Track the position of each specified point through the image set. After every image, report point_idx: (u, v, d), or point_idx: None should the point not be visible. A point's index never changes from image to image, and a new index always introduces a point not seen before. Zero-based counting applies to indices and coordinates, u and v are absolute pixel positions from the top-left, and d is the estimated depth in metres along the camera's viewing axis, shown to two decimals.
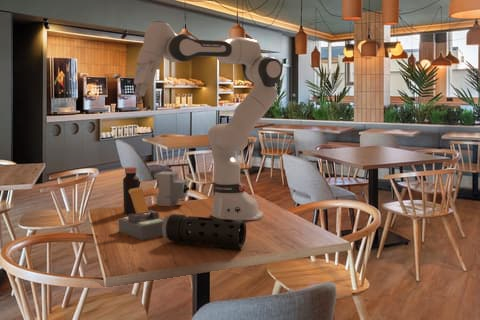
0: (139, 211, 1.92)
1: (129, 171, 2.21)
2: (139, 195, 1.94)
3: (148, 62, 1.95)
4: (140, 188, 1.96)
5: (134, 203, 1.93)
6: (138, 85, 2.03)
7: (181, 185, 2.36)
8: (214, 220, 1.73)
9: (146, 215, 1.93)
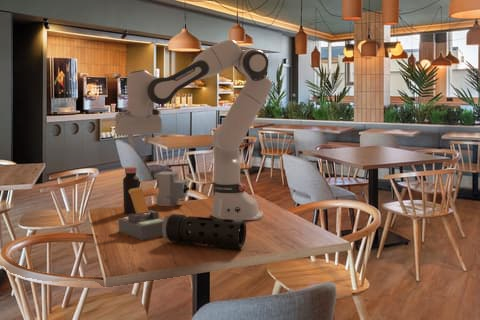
0: (139, 211, 1.92)
1: (129, 171, 2.21)
2: (139, 195, 1.94)
3: None
4: (140, 188, 1.96)
5: (134, 203, 1.93)
6: (145, 134, 2.10)
7: (181, 185, 2.36)
8: (214, 220, 1.73)
9: (146, 215, 1.93)
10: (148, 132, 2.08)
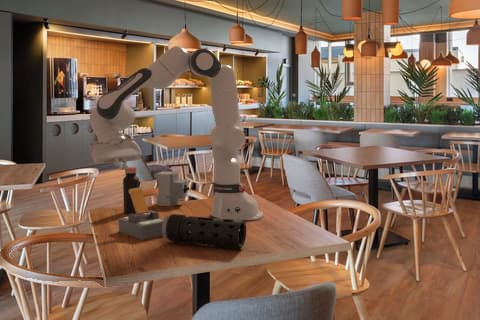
0: (139, 211, 1.92)
1: (129, 171, 2.21)
2: (139, 195, 1.94)
3: None
4: (140, 188, 1.96)
5: (134, 203, 1.93)
6: (122, 160, 2.03)
7: (181, 185, 2.36)
8: (214, 220, 1.73)
9: (146, 215, 1.93)
10: (128, 154, 2.04)
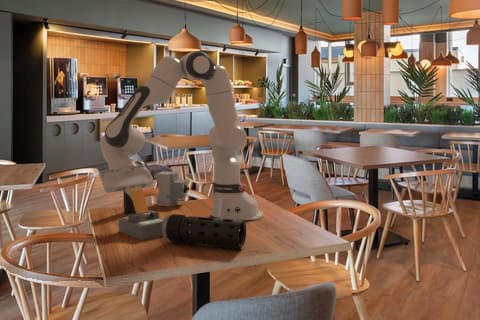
0: (139, 211, 1.92)
1: None
2: (139, 195, 1.94)
3: None
4: (140, 188, 1.96)
5: (134, 203, 1.92)
6: None
7: (181, 185, 2.36)
8: (214, 220, 1.73)
9: (146, 215, 1.93)
10: (139, 182, 1.99)
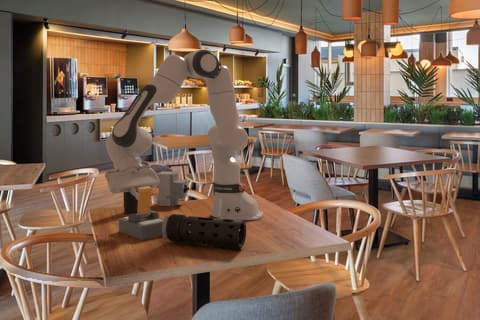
0: (141, 212, 1.91)
1: None
2: (146, 196, 1.91)
3: None
4: (150, 189, 1.91)
5: (139, 203, 1.90)
6: None
7: (181, 185, 2.36)
8: (214, 220, 1.73)
9: (146, 217, 1.93)
10: (145, 183, 1.95)
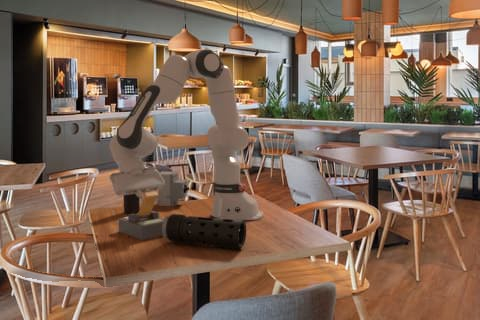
0: (142, 214, 1.90)
1: None
2: (151, 201, 1.89)
3: None
4: (156, 195, 1.88)
5: (142, 206, 1.89)
6: (144, 191, 1.93)
7: (181, 185, 2.36)
8: (214, 220, 1.73)
9: (146, 217, 1.93)
10: (150, 185, 1.93)
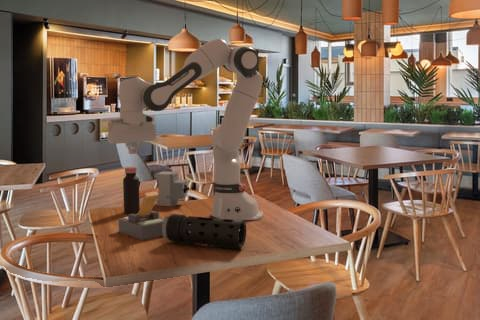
0: (142, 214, 1.90)
1: (129, 171, 2.21)
2: (151, 201, 1.89)
3: None
4: (156, 196, 1.88)
5: (142, 206, 1.89)
6: (134, 142, 2.03)
7: (181, 185, 2.36)
8: (214, 220, 1.73)
9: (146, 217, 1.93)
10: (142, 139, 2.03)
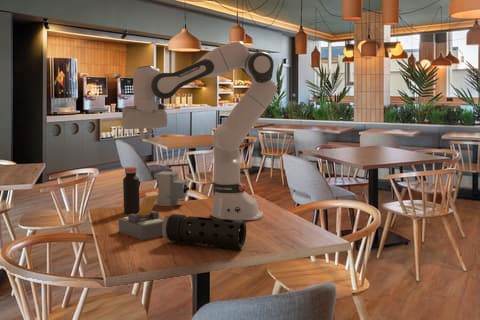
0: (142, 214, 1.90)
1: (129, 171, 2.21)
2: (151, 201, 1.89)
3: None
4: (156, 196, 1.88)
5: (142, 206, 1.89)
6: (146, 128, 2.14)
7: (181, 185, 2.36)
8: (214, 220, 1.73)
9: (146, 217, 1.93)
10: (154, 126, 2.14)
